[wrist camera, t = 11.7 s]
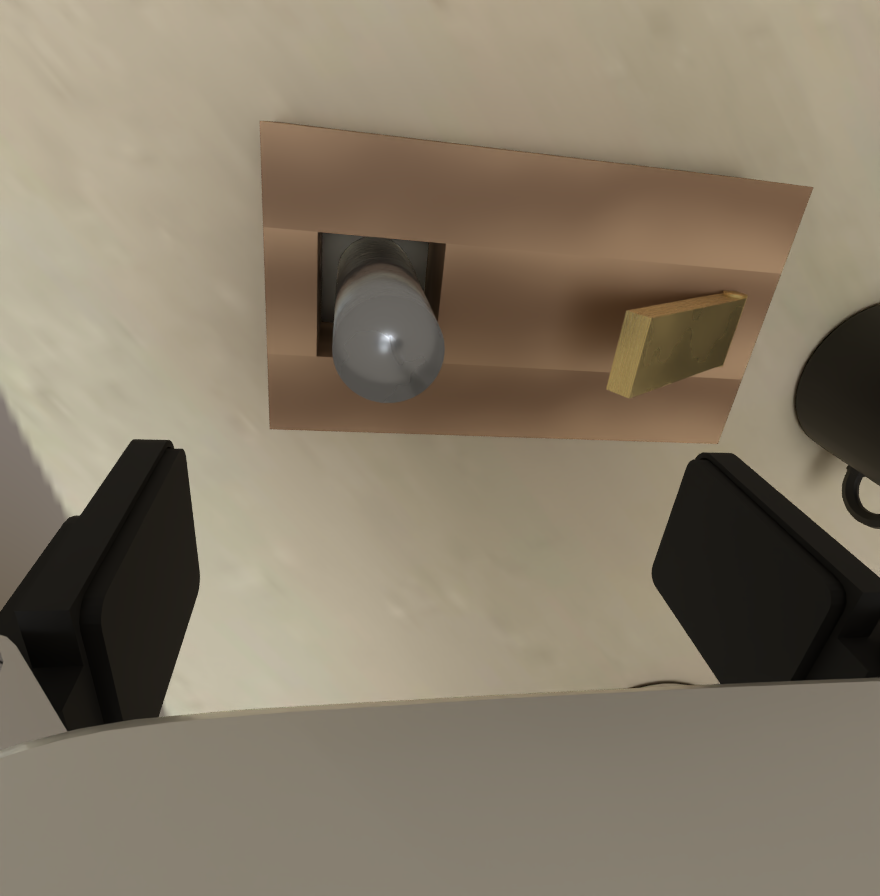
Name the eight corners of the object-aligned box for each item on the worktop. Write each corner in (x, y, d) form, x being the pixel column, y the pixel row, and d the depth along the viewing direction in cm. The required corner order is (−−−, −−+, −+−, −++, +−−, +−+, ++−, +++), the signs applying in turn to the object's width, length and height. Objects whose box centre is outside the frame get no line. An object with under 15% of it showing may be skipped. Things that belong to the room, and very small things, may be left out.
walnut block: (670, 403, 34) (717, 443, 30) (280, 385, 30) (269, 429, 26) (742, 177, 28) (813, 187, 24) (275, 121, 25) (259, 120, 20)
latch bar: (706, 358, 27) (726, 364, 27) (605, 391, 22) (628, 401, 21) (729, 289, 26) (751, 295, 25) (627, 307, 21) (652, 315, 20)
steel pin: (409, 314, 29) (438, 405, 20) (336, 309, 29) (331, 400, 19) (415, 240, 28) (450, 300, 18) (338, 233, 27) (333, 291, 18)
